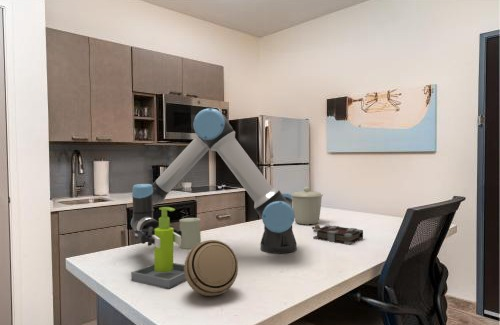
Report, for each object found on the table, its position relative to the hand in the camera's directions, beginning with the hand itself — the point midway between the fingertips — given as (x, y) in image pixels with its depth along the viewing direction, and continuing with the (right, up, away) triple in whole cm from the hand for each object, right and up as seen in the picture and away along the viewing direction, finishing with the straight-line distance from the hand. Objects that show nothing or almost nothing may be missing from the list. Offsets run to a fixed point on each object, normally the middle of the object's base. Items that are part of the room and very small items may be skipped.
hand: (169, 241), depth 106 cm
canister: (+57, -11, +92) cm, 108 cm away
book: (+63, -11, +56) cm, 85 cm away
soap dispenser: (-3, -10, +5) cm, 11 cm away
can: (-1, -12, +44) cm, 46 cm away
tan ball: (+14, -13, -9) cm, 21 cm away
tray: (-2, -13, +5) cm, 14 cm away
